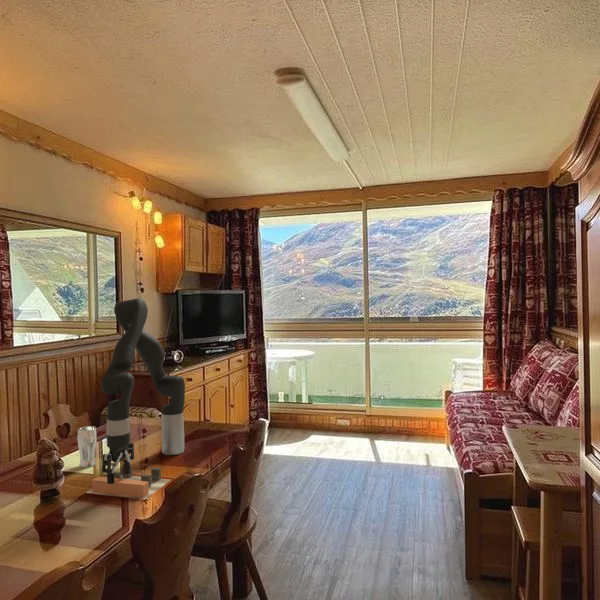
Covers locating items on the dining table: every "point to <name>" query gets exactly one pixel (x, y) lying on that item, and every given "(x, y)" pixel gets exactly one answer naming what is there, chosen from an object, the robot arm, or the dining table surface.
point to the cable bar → (121, 487)
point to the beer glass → (87, 446)
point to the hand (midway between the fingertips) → (118, 478)
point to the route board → (153, 480)
